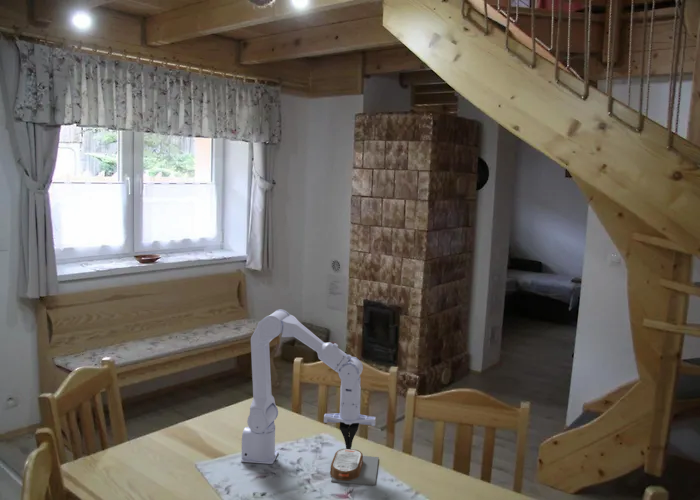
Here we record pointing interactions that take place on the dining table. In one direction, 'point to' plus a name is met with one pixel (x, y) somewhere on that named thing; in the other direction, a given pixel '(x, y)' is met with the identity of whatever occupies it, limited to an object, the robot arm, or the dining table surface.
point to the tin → (346, 464)
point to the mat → (364, 472)
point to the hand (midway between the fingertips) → (348, 447)
